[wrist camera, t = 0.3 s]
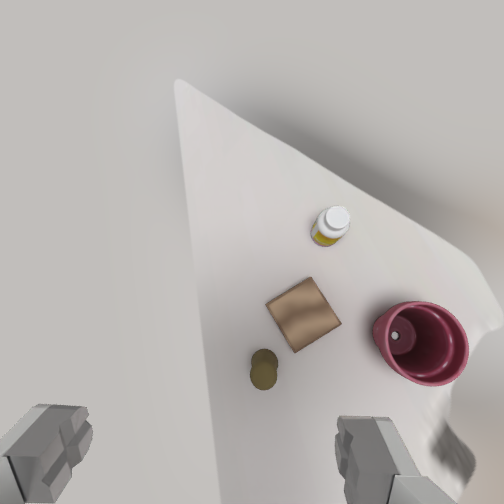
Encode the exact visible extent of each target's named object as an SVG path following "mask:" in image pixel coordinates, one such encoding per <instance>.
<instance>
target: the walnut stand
mask: <svg viewBox="0 0 504 504" xmlns="http://www.w3.org/2000/svg"><path fill="white" fill-rule="evenodd" d="M265 305H266V306H267V308H268V310H269V311H270V313H271V315H272V316H273V318H274V320H275V321H276V323H277V325H278V326H279V328H280V330H281V331H282V333H283V335H284V337H285V338H286V340H287V342H288V343H289V345H290V347H291V348H292V350H293V352H294V353H296V352H298V351H300V350H301V349H303V348H304V347H306V346H308V345H309V344H311V343H312V342H314V341H316V340H317V339H319V338H320V337H322V336H324V335H325V334H327V333H329V332H330V331H332V330H333V329H335V328H337V327H338V326H340V325H341V324H342V323H341V322H340V320H339V319H338V317H337V316H336V314H335V313H334V311H333V310H332V308H331V306H330V305H329V303H328V302H327V300H326V299H325V297H324V296H323V294H322V293H321V291H320V290H319V288H318V286H317V285H316V283H315V282H314V280H313V279H312V277H309V278H308V279H306V280H304V281H303V282H301V283H299V284H298V285H296V286H294V287H293V288H291V289H290V290H288V291H286V292H285V293H283V294H281V295H280V296H278V297H276V298H275V299H273V300H272V301H270V302H268V303H267V304H265Z"/></svg>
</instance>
